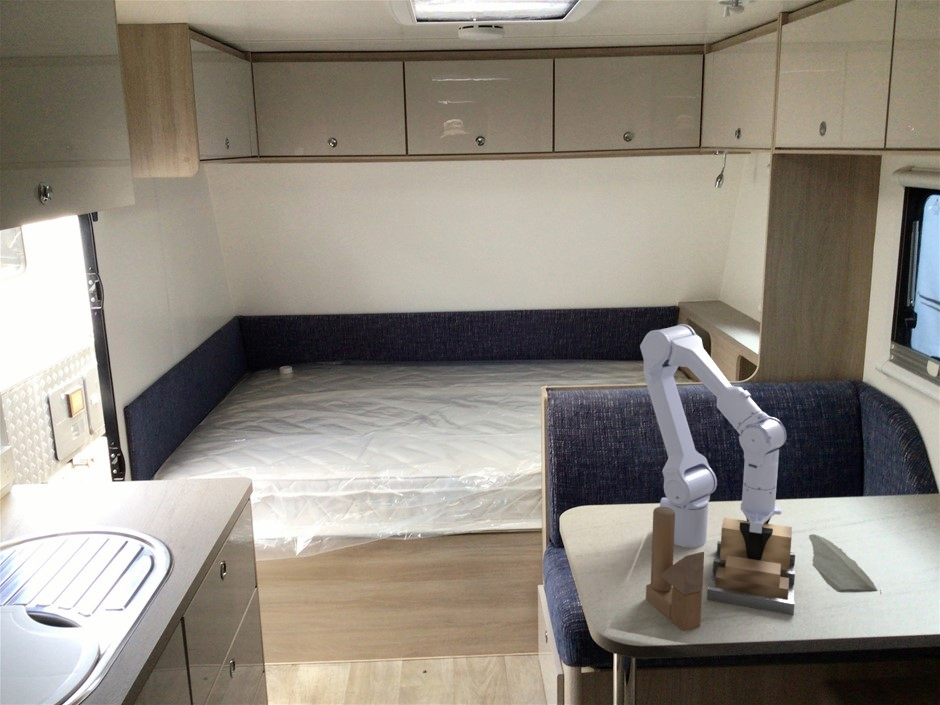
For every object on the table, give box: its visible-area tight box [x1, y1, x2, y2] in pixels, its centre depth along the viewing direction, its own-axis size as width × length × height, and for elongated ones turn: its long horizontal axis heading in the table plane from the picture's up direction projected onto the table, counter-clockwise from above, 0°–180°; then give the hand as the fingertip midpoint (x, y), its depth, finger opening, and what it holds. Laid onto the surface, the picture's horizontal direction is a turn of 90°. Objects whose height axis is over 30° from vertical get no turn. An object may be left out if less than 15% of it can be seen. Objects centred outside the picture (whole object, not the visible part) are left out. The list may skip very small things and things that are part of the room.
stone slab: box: [808, 534, 882, 594], centre depth 150 cm, size 22×3×10 cm
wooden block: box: [645, 506, 705, 632], centre depth 132 cm, size 4×11×18 cm, turn 22°
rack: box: [706, 540, 796, 616], centre depth 143 cm, size 14×19×3 cm
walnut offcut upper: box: [725, 555, 781, 588], centre depth 139 cm, size 9×4×2 cm, turn 68°
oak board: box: [720, 517, 793, 571], centre depth 147 cm, size 12×4×8 cm, turn 68°
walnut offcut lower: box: [715, 567, 789, 600], centre depth 140 cm, size 12×4×2 cm, turn 68°
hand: (755, 552), depth 147 cm, fingers open, 6 cm apart
